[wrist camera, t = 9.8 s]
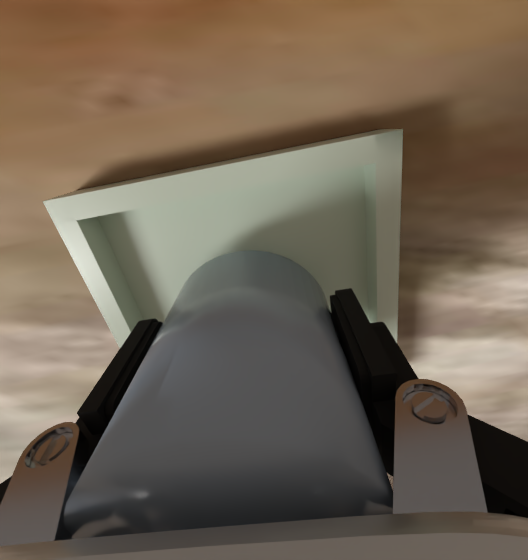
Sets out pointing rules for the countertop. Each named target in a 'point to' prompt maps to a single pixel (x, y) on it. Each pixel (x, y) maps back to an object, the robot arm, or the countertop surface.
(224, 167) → the tray
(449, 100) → the countertop surface
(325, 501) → the blue grey cylinder
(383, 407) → the robot arm
